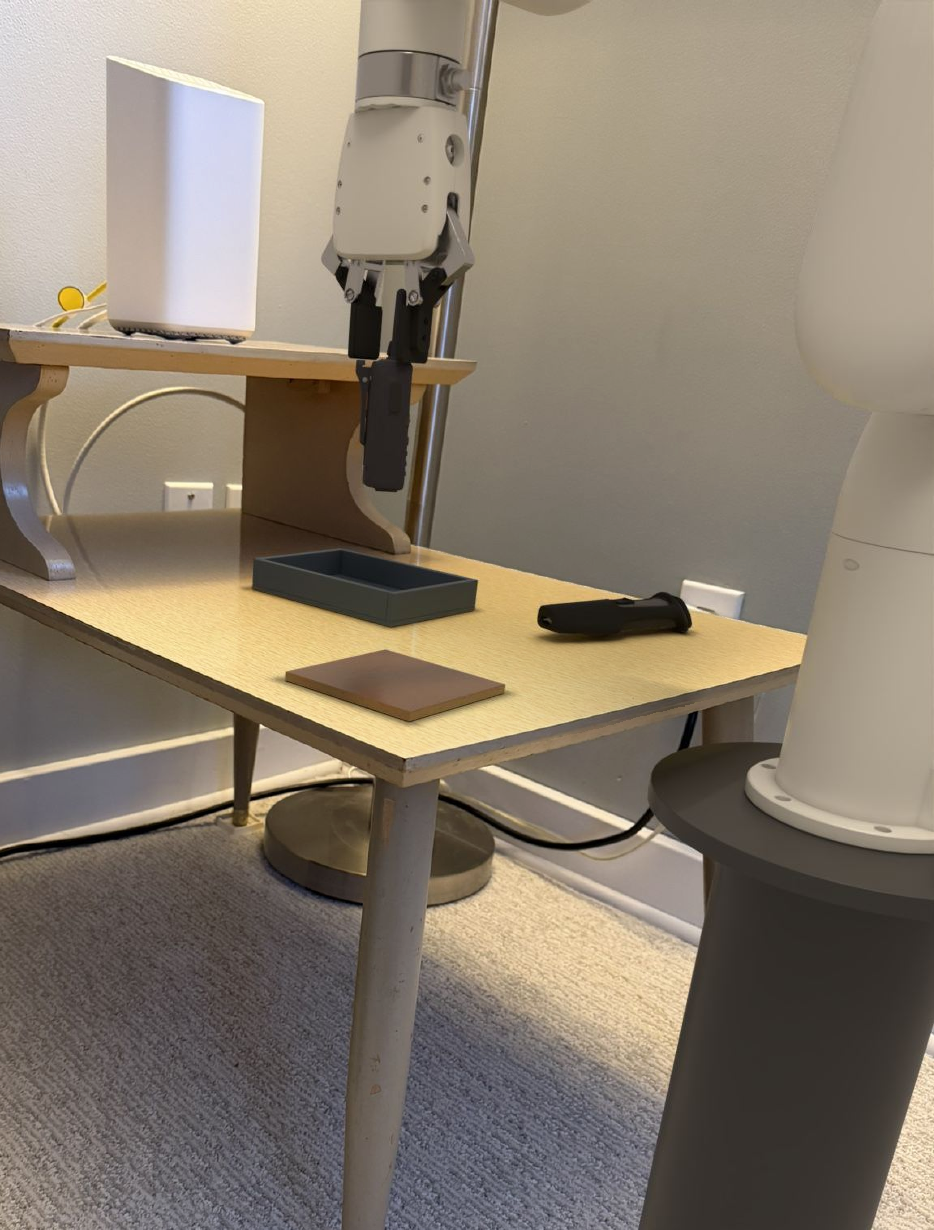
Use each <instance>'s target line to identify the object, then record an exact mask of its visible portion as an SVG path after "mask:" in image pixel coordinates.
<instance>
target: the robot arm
mask: <svg viewBox="0 0 934 1230" xmlns="http://www.w3.org/2000/svg"><path fill="white" fill-rule="evenodd" d="M497 1H499V2H502V3H504V4H507V5H510V6H513V7H515V8H517V9H521V10H523V11H526V12H528V13H532V14H536V15H538V16H545V17H552V16H554V17H555V16H561V15H566V14H569V13H570V12H573V11H576V10H578V9H580V8H582V7H584V6H586V5H588V4H590V3H591V2H592V1H593V0H497ZM467 7H468V0H360V14H359V15H360V16H359V29H358V30H359V31H358V45H357V63H356V78H355V96H354V110H353V112H351V113H349V115H348V119H347V123H346V128H345V132H344V137H343V141H342V146H341V152H340V157H339V163H338V171H337V178H336V185H335V193H334V204H333V205H334V206H333V217H332V218H333V219H332V235H331V237H330V239H329V240H328V242H327V244H326V247H325V248H324V250H323V252H322V254H321V257H320V260H321V263H322V265H323V266H324V267H325V268H326V269H327V270H328V271H329V273H331V274H332V275H333V276H335V280H336V282H337V284H338V285H339V287H340V288H341V290H342V291H343V299H344V301H345V302H346V303H347V304H350V311H349V327H348V341H347V342H348V344H347V356H348V358H349V359H352V360H353V359H354V360H365V361H378V359H379V357H380V356H381V355H380V354H381V341H382V326H383V312H384V310H383V306H379V305H377V303H378V300H379V295H380V290H381V285H382V282H383V277H384V273H385V267H386V266H404V278H405V290H406V294H407V301H406V303H407V304H406V305H401V308H400V311H399V324H398V337H397V350H396V359H397V360H398V361H399V362H405V363H411V364H419V365H420V364H422V365H425V364H427V362H428V360H429V350H430V346H431V337H432V336H431V335H432V327H433V326H432V324H433V313H434V309H437V308H439V307H440V305H441V302H442V298H443V296H444V295H445V294H446V293H447V292H448V291H449V289H450V288H451V287H452V286H453V285H454V283H455V280H458V279H460V277H462V276H463V275H464V274H466V273H467V272H468V271H469V270H470V269H471V268H473V267H474V265H475V263H476V260H475V259H476V258H475V255H474V252H473V251H472V248H471V245H470V242H469V233H470V219H471V193H472V191H471V186H472V185H471V184H472V179H471V178H472V175H471V174H472V173H471V172H472V171H471V168H472V167H471V149H470V138H469V127H468V121H467V116H466V115H465V114H463V113H460V112H459V111H458V110H459V102H460V101H459V100H460V94H461V92H467V91H468V90H469V89H471V85H472V75H471V71H469V69H467V68H462V65H463V56H464V55H463V52H464V45H465V44H464V42H465V32H466V17H467ZM828 164H829V165H828V168H827V172H826V175H825V178H824V183H823V187H822V189H821V194H820V196H819V200H818V204H817V208H816V212H815V215H814V218H813V222H812V226H811V230H810V233H809V236H808V239H807V244H806V247H805V251H804V255H803V259H802V262H801V266H800V271H799V276H798V281H797V285H796V286H797V288H796V294H795V300H794V301H795V302H794V334H795V340H796V345H797V349H798V352H799V355H800V358H801V360H802V363H803V365H804V367H805V368H806V370H807V372H808V374H809V376H810V377H811V378H812V380H814V382H815V383H816V384H817V386H819V387H820V388H821V389H822V390H823V391H824V392H826V394H828V395H829V396H831V397H832V398H834V399H835V400H838V401H840V402H841V403H843V404H845V405H848V406H851V407H853V408H856V409H861V410H866V411H870V412H871V415H870V416H869V419H868V421H867V422H866V425H865V427H864V429H863V431H862V433H861V436H860V437H859V440H858V442H857V443H856V444H857V445H856V447H855V449H854V452H853V454H852V456H851V458H850V461H849V464H848V467H847V470H846V473H845V476H844V479H843V483H842V485H841V488H840V492H839V496H838V500H837V504H836V508H835V512H834V517H833V521H832V526H831V529H830V533H829V537H828V541H827V545H826V546H827V547H826V550H825V555H824V560H823V564H822V568H821V573H820V577H819V581H818V586H817V590H816V595H815V599H814V604H813V608H812V613H811V617H810V621H809V624H808V625H809V626H808V630H807V634H806V639H805V643H804V648H803V652H802V657H801V661H800V664H799V668H798V669H799V670H798V676H797V678H796V683H795V688H794V692H793V696H792V702H791V705H790V709H789V715H788V719H787V723H786V726H785V732H784V736H783V741H782V743H783V744H782V749H781V753H780V758H774V759H768V760H765V761H762V762H759V763H757V764H756V765H754V766H753V767H751V768H750V770H749V771H748V773H747V778H746V783H745V792H746V795H747V797H748V798H749V799H750V800H751V801H752V803H753V804H754V805H755V806H756V807H758V808H759V809H760V810H762V811H763V812H764V813H766V814H767V815H769V816H771V817H773V818H774V819H776V820H778V821H780V822H782V823H784V824H786V825H789V826H791V827H793V828H795V829H798V830H800V831H803V832H806V833H809V834H812V835H814V836H817V837H820V838H824V839H827V840H831V841H834V842H838V843H841V844H846V845H850V846H855V847H859V848H864V849H870V850H876V851H883V852H890V853H901V854H925V855H930V854H934V0H881V2H880V4H879V6H878V9H877V10H876V13H875V15H874V17H873V19H872V22H871V24H870V26H869V29H868V31H867V34H866V37H865V40H864V43H863V46H862V49H861V53H860V56H859V59H858V62H857V66H856V69H855V72H854V76H853V79H852V82H851V86H850V89H849V93H848V96H847V101H846V104H845V107H844V110H843V114H842V118H841V122H840V126H839V128H838V132H837V136H836V139H835V143H834V146H833V150H832V154H831V157H830V161H829V163H828ZM349 260H350V261H349ZM366 271H367V272H366ZM365 274H366V277H365Z"/></svg>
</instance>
